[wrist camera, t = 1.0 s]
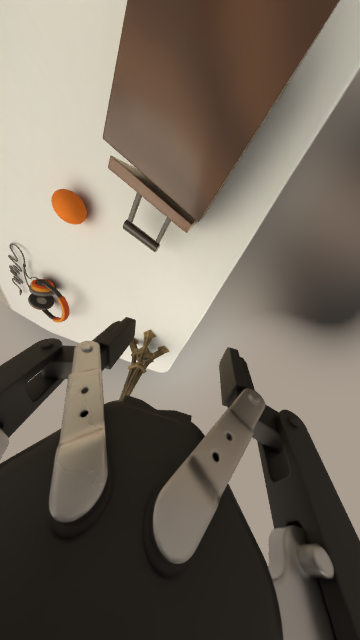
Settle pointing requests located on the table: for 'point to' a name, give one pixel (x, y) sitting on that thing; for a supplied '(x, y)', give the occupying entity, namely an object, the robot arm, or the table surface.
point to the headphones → (41, 292)
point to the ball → (69, 206)
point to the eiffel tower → (140, 362)
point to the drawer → (154, 197)
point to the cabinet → (203, 85)
